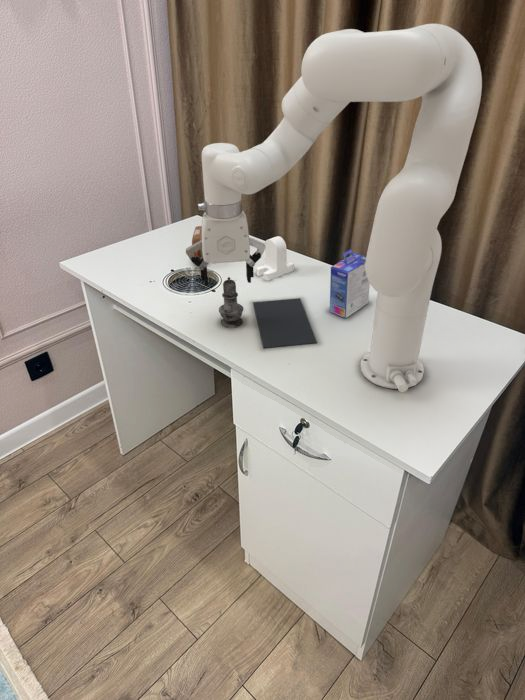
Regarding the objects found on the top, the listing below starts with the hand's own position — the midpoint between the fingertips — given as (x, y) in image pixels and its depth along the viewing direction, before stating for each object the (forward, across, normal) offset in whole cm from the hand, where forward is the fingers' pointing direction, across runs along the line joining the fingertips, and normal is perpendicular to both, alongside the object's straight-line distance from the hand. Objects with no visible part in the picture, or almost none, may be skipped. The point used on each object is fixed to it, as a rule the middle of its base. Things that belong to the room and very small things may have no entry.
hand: (227, 281), depth 115 cm
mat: (+10, +12, -2) cm, 17 cm away
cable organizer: (+11, +14, +24) cm, 30 cm away
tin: (+11, -6, +37) cm, 39 cm away
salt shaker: (+11, 0, 0) cm, 11 cm away
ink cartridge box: (+10, +30, +2) cm, 31 cm away
